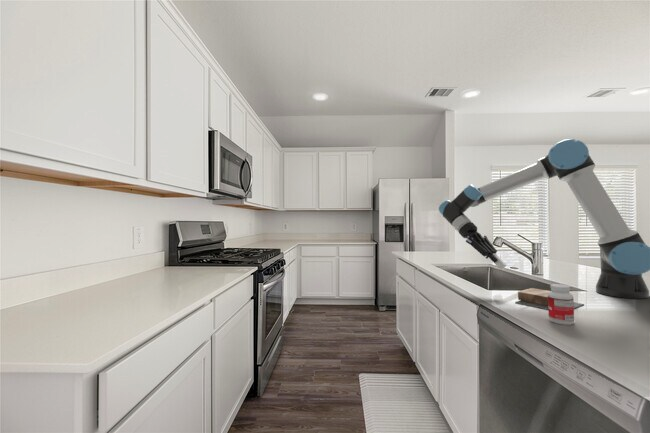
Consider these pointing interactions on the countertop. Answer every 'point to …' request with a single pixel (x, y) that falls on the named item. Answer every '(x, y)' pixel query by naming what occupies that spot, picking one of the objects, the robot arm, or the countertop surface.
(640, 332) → the countertop surface
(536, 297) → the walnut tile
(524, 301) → the dark grey rubber mat
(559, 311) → the pill bottle
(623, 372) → the countertop surface
